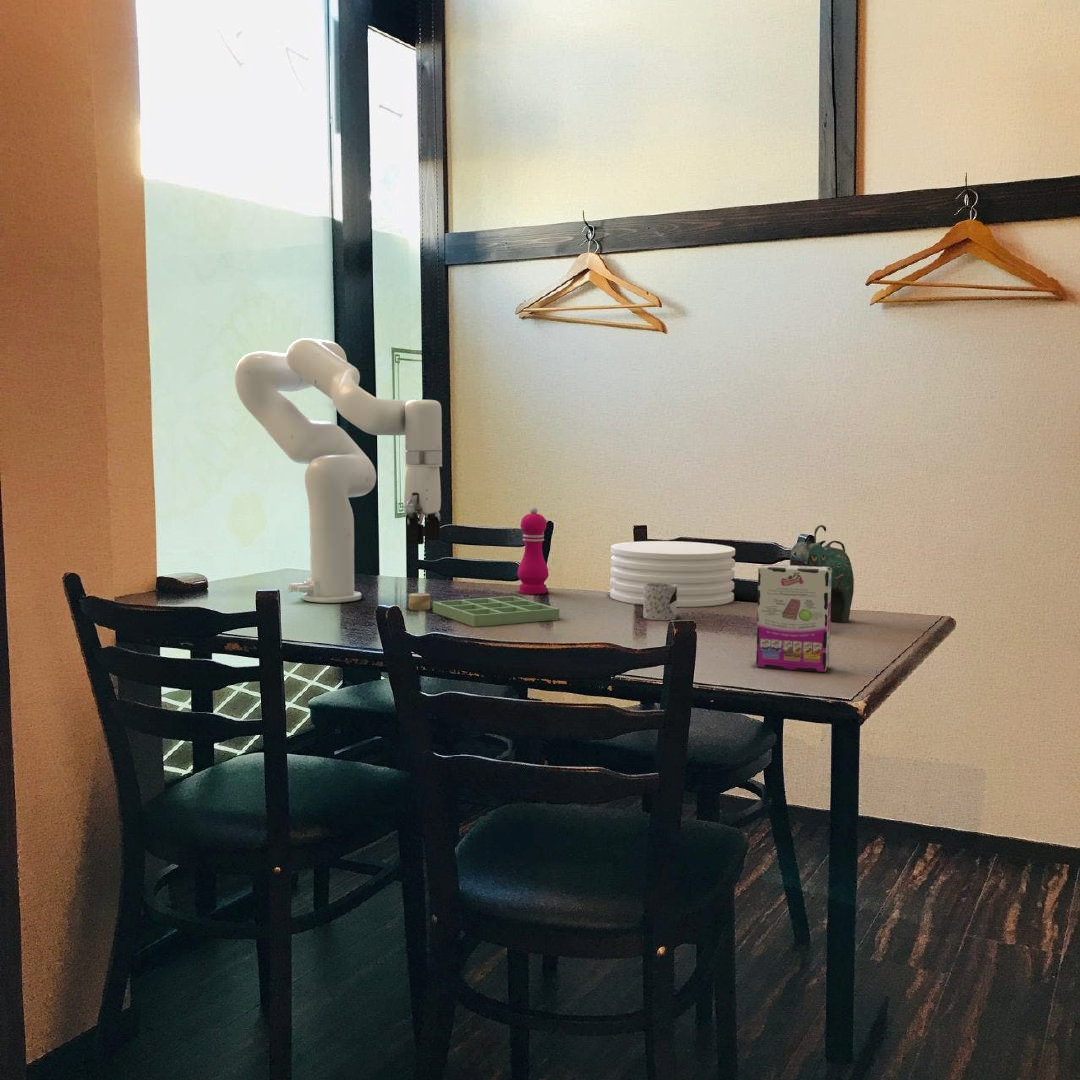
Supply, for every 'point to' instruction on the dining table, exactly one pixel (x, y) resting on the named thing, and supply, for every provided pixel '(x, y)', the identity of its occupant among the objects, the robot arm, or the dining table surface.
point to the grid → (495, 611)
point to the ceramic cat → (840, 575)
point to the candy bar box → (793, 617)
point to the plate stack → (673, 571)
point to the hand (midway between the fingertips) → (424, 541)
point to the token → (419, 601)
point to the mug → (660, 601)
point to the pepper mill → (533, 555)
